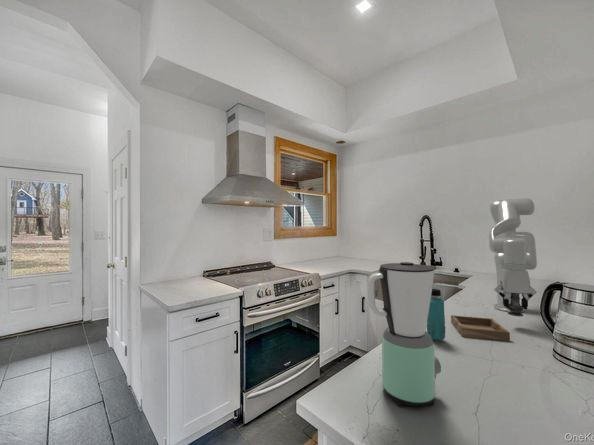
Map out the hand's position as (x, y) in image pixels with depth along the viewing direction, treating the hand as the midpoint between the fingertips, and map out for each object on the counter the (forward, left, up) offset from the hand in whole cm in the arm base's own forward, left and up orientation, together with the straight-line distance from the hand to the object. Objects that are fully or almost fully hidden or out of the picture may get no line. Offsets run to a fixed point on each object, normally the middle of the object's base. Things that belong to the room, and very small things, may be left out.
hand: (515, 307), depth 116 cm
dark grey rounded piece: (0, 0, -3) cm, 3 cm away
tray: (+9, -17, -9) cm, 21 cm away
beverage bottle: (+24, -36, -9) cm, 44 cm away
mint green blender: (+64, -51, -9) cm, 82 cm away
